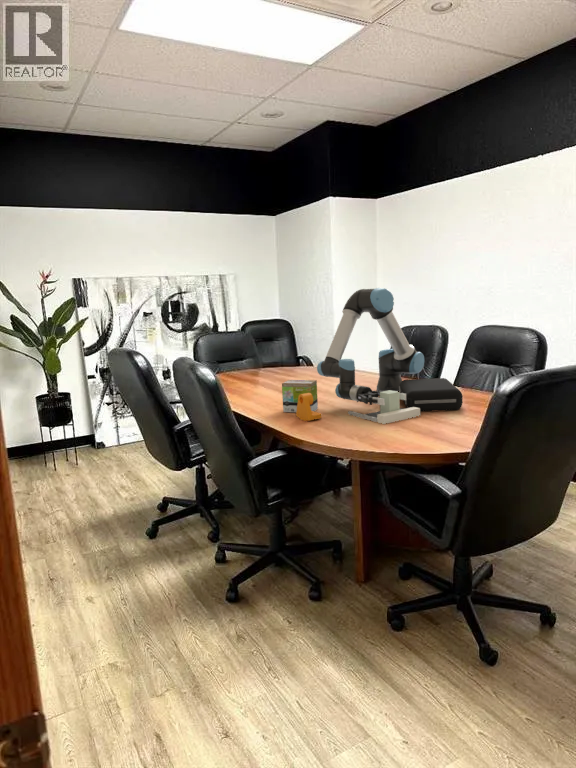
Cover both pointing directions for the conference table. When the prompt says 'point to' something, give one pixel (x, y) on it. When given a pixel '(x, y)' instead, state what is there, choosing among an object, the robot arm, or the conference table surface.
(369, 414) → the stop pad
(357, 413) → the track rails
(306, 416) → the bracket
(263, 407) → the conference table surface
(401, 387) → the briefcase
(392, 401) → the block
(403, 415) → the end stop
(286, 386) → the tea box
